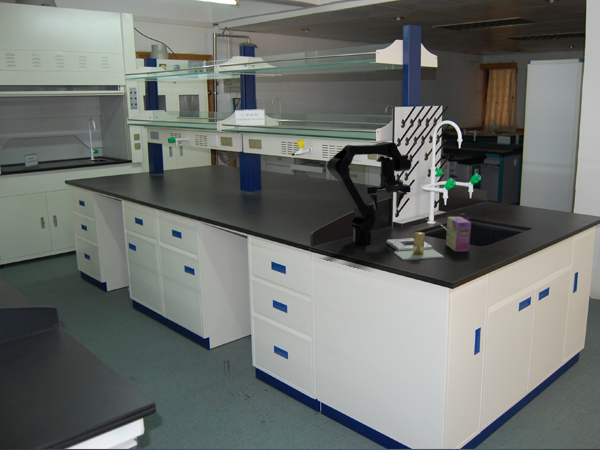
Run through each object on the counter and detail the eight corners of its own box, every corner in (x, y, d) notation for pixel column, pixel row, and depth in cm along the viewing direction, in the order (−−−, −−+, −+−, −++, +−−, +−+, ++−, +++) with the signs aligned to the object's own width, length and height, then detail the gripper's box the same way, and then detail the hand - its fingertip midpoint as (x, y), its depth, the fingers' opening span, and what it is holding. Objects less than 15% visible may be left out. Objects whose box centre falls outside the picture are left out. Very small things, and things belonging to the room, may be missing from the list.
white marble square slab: (398, 252, 203) (398, 248, 202) (386, 243, 216) (386, 239, 216) (432, 250, 205) (432, 246, 204) (418, 241, 218) (418, 237, 218)
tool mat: (402, 260, 192) (402, 258, 192) (393, 252, 202) (393, 251, 202) (443, 257, 195) (443, 256, 194) (432, 250, 204) (432, 249, 204)
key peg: (415, 255, 196) (416, 234, 194) (411, 252, 200) (412, 232, 198) (425, 255, 196) (426, 234, 195) (421, 252, 200) (422, 231, 198)
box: (469, 251, 202) (471, 221, 200) (455, 252, 202) (456, 222, 199) (459, 244, 213) (461, 216, 210) (445, 245, 212) (447, 216, 209)
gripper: (371, 175, 207) (370, 213, 211) (416, 174, 210) (414, 211, 214) (363, 172, 218) (363, 208, 222) (406, 170, 221) (405, 206, 224)
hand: (386, 209), depth 220 cm, fingers open, 9 cm apart
